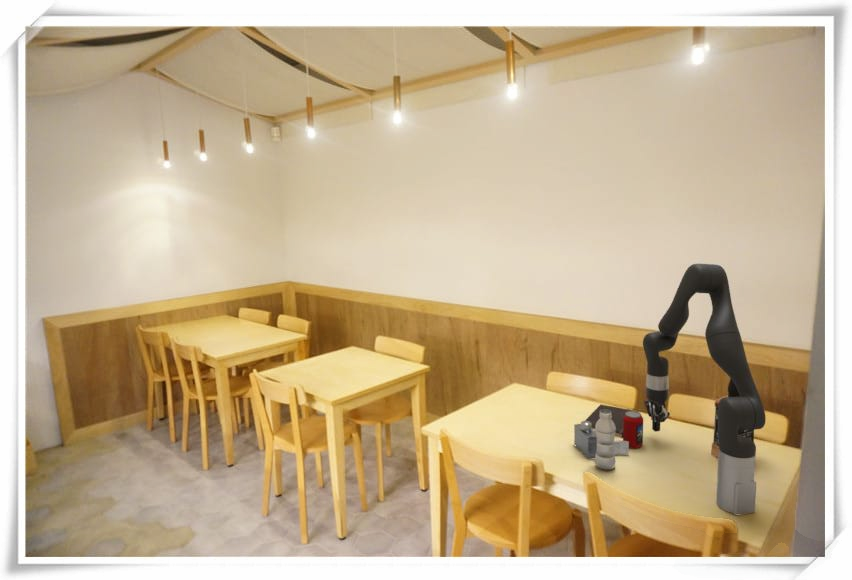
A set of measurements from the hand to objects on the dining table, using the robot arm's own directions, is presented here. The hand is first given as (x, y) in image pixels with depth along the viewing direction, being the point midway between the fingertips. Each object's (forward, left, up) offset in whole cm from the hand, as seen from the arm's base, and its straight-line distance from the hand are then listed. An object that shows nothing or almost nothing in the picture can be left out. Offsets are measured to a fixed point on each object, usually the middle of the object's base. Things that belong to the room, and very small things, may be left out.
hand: (656, 430), depth 201 cm
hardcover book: (+20, +7, -5) cm, 22 cm away
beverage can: (0, +9, -5) cm, 10 cm away
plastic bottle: (-13, +26, -5) cm, 30 cm away
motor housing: (0, +22, -4) cm, 22 cm away
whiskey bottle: (-17, -18, -5) cm, 25 cm away
